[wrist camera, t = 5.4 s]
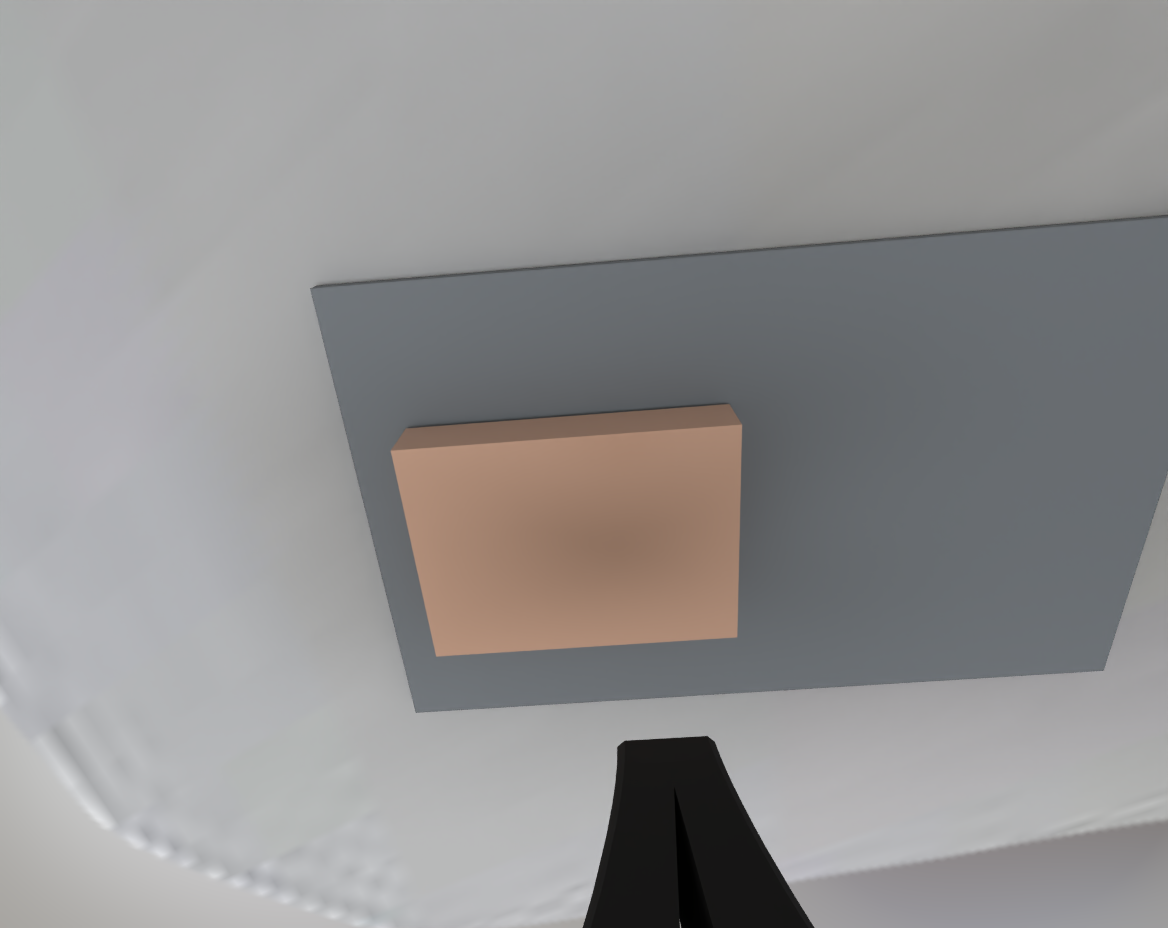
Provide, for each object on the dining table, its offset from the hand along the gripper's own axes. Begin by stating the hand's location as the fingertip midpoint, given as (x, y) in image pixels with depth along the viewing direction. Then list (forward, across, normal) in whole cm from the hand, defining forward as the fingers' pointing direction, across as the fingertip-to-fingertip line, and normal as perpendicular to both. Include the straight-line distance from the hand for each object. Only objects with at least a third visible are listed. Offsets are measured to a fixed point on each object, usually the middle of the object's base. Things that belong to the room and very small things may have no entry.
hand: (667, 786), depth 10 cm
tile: (+8, -2, 0) cm, 8 cm away
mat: (+9, -3, 0) cm, 9 cm away
